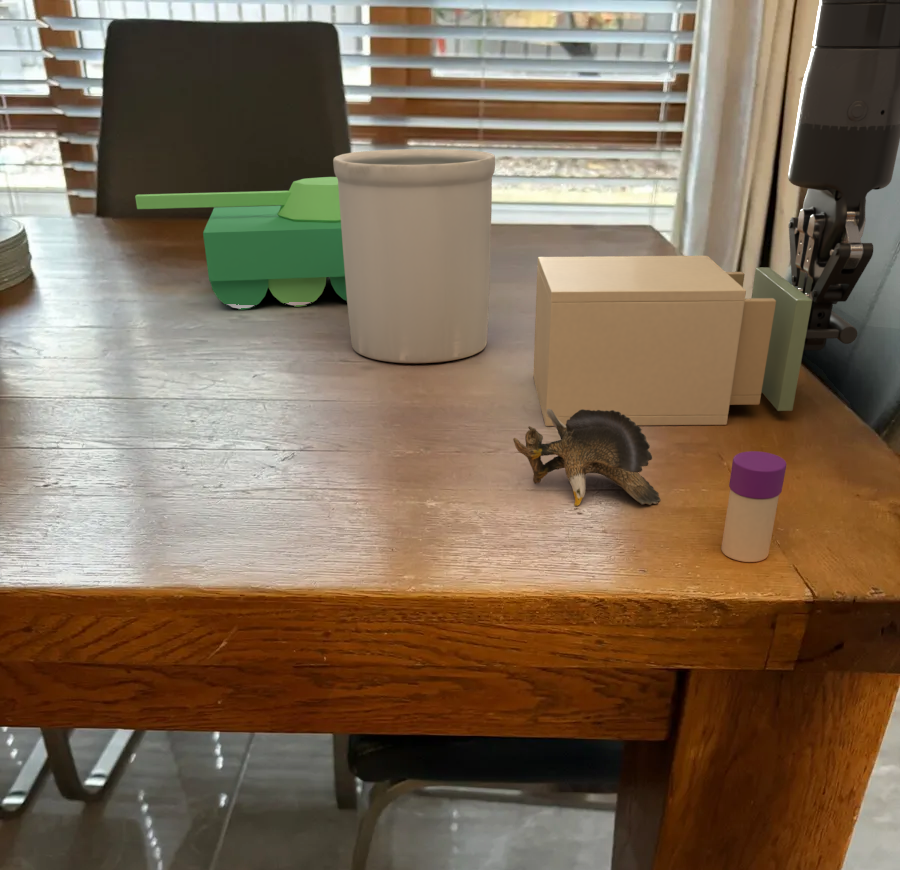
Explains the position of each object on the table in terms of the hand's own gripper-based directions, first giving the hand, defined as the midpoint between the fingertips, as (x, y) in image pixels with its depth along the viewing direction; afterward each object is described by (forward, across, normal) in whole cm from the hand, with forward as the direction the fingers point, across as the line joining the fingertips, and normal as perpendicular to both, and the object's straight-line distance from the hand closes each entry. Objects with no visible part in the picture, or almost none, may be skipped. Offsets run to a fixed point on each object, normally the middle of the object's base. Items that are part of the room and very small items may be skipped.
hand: (808, 347), depth 82 cm
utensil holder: (+5, +17, +33) cm, 37 cm away
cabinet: (+4, 0, +15) cm, 16 cm away
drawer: (+4, 0, +7) cm, 8 cm away
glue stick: (+4, -28, +12) cm, 31 cm away
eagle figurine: (+5, -19, +21) cm, 29 cm away
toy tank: (+5, +40, +48) cm, 63 cm away
